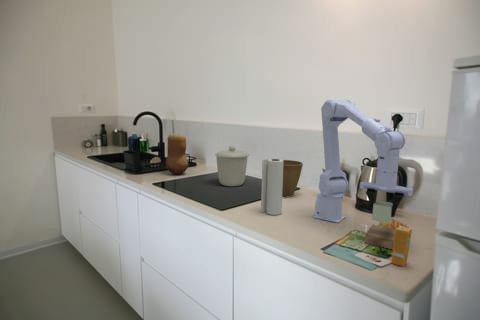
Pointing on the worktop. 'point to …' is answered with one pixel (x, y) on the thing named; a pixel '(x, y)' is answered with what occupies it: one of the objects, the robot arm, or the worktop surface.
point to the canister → (231, 166)
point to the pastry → (392, 224)
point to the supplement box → (401, 246)
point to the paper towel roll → (272, 186)
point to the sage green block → (382, 211)
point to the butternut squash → (176, 154)
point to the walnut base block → (380, 236)
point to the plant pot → (290, 176)
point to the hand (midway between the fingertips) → (383, 214)
